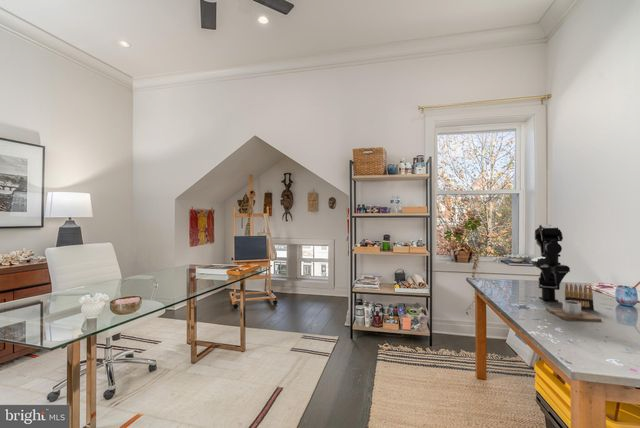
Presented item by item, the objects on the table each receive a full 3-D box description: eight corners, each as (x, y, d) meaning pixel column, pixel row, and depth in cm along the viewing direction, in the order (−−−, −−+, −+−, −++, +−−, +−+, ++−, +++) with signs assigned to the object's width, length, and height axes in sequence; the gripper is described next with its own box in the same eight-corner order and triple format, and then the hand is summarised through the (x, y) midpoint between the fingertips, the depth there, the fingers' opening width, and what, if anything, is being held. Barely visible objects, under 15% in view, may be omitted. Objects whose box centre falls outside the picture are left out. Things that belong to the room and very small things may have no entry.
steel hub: (559, 310, 138) (559, 300, 138) (575, 311, 136) (574, 300, 136) (568, 315, 131) (568, 304, 131) (584, 316, 130) (584, 304, 130)
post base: (546, 310, 142) (545, 298, 142) (579, 311, 139) (578, 299, 139) (564, 320, 128) (564, 307, 128) (601, 321, 126) (601, 308, 126)
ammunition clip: (565, 307, 146) (564, 283, 146) (564, 306, 148) (563, 282, 148) (594, 310, 140) (593, 285, 140) (593, 309, 141) (592, 284, 142)
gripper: (523, 249, 158) (524, 278, 157) (543, 254, 139) (544, 287, 139) (546, 249, 156) (547, 279, 155) (570, 254, 137) (571, 287, 137)
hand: (551, 282), depth 147 cm, fingers open, 9 cm apart
